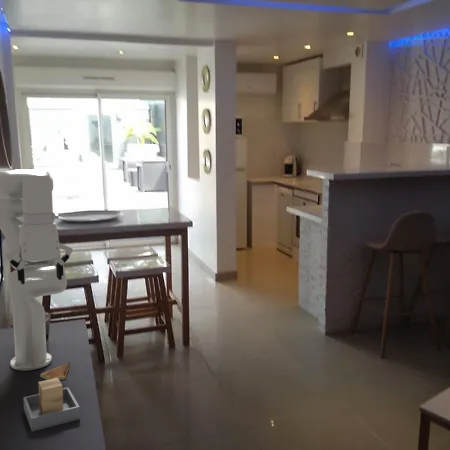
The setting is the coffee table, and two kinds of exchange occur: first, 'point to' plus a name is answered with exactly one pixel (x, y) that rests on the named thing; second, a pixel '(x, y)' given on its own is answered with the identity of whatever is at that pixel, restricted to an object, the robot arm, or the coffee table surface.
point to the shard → (56, 372)
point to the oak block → (50, 396)
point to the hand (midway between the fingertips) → (41, 280)
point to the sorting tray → (55, 418)
